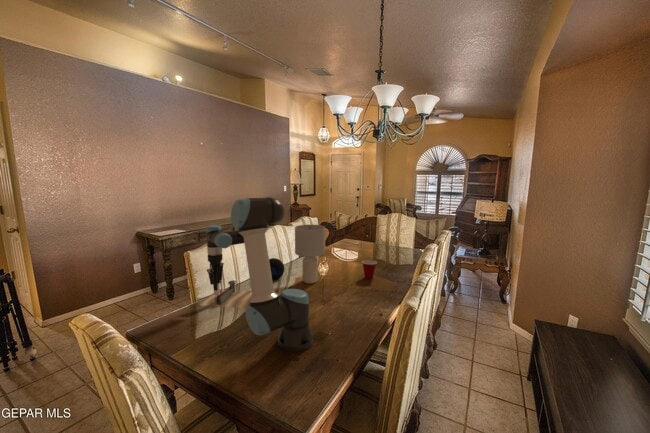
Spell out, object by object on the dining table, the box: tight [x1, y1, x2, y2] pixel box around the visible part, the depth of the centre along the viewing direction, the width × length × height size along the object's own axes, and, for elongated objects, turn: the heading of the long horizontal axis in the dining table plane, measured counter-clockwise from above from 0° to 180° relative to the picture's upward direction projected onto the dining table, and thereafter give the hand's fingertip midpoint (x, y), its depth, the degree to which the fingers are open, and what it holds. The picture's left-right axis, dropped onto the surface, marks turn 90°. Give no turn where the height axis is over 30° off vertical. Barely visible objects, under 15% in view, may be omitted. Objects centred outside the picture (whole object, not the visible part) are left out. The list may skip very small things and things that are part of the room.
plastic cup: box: [361, 260, 378, 280], centre depth 202 cm, size 11×11×12 cm
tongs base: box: [215, 284, 236, 305], centre depth 164 cm, size 19×3×5 cm, turn 170°
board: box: [199, 289, 252, 309], centre depth 165 cm, size 26×22×1 cm
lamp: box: [294, 224, 326, 285], centre depth 192 cm, size 20×20×39 cm
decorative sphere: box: [269, 257, 285, 281], centre depth 197 cm, size 15×15×15 cm
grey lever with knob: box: [219, 279, 237, 305], centre depth 165 cm, size 20×5×6 cm, turn 173°
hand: (216, 294), depth 156 cm, fingers closed
